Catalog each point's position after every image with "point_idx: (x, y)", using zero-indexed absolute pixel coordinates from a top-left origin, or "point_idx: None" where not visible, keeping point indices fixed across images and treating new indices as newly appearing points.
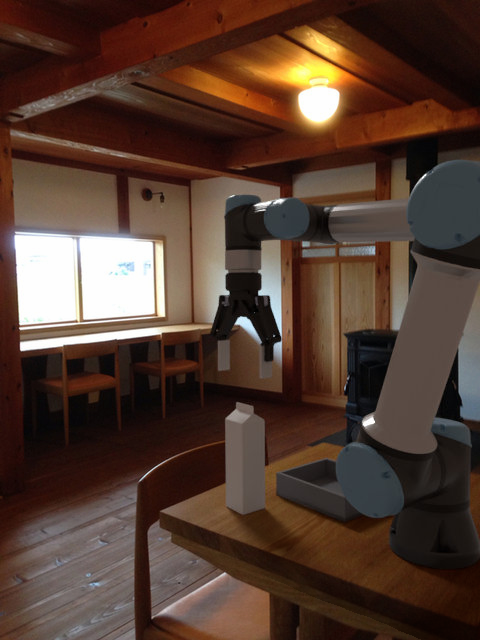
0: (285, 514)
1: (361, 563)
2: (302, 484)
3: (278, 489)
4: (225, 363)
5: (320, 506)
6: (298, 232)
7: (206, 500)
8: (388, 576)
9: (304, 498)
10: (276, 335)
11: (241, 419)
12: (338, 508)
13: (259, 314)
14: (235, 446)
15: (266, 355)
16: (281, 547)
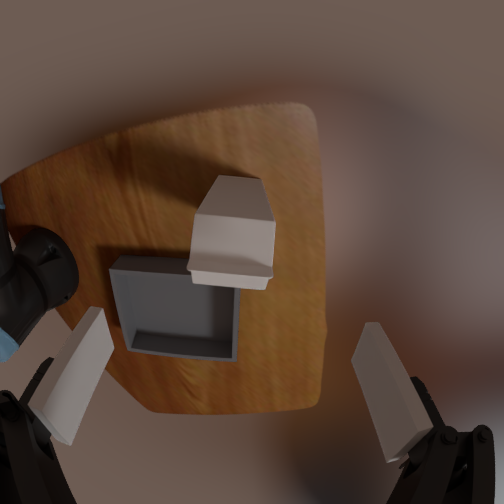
0: (181, 220)
1: (55, 192)
2: (183, 273)
3: None
4: (366, 364)
5: (155, 260)
6: None
7: (301, 174)
8: (34, 193)
9: (183, 263)
10: (5, 451)
11: (211, 229)
12: (125, 261)
13: None
14: (229, 199)
15: (42, 377)
16: (117, 149)
